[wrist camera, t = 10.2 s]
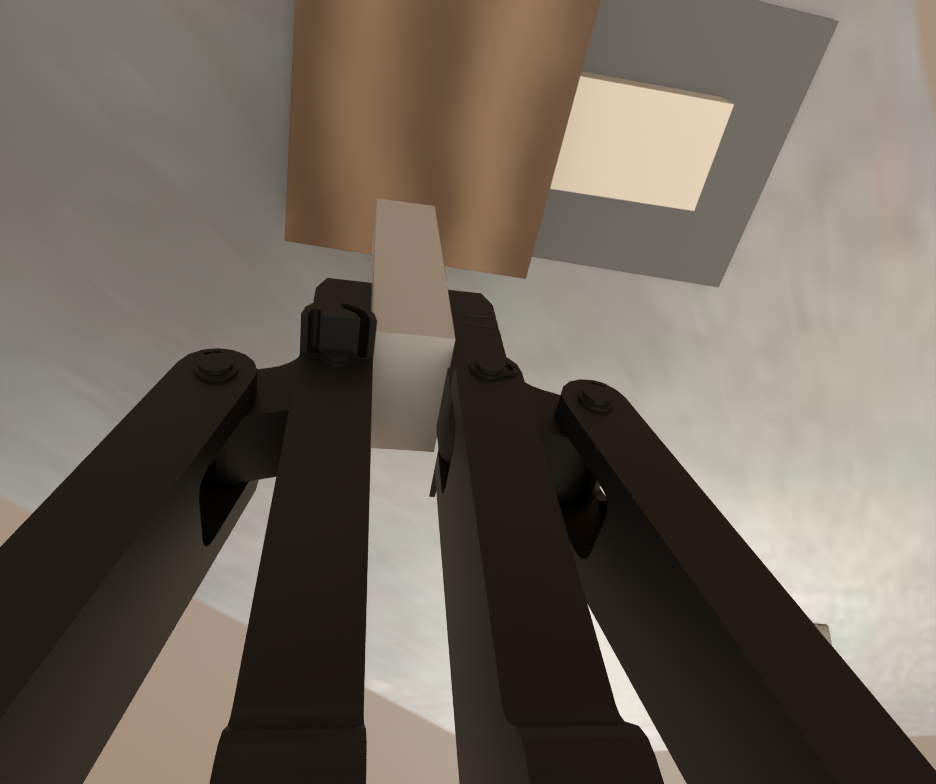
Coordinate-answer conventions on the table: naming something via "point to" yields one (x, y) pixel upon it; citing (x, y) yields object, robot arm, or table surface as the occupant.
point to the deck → (432, 119)
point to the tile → (640, 141)
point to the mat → (742, 144)
